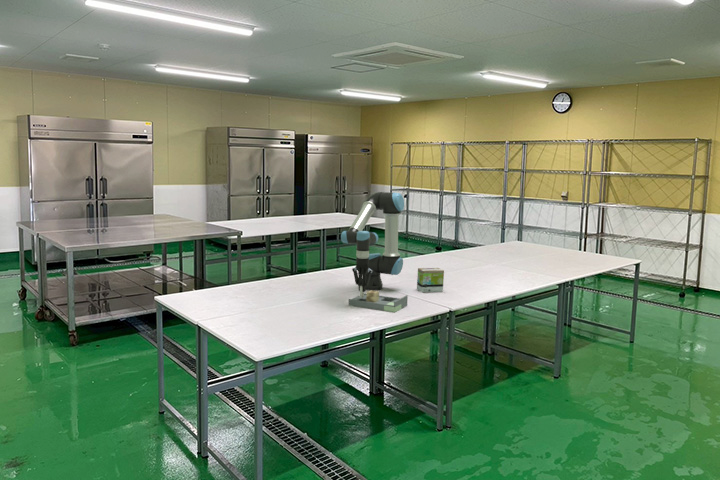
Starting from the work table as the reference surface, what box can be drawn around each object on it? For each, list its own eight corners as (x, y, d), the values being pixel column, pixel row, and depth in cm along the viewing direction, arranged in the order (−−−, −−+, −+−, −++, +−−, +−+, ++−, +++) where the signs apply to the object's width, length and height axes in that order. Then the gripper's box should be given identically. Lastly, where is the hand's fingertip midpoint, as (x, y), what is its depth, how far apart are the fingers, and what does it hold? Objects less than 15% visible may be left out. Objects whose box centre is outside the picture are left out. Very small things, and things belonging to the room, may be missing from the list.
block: (366, 301, 328) (366, 292, 327) (370, 299, 333) (370, 290, 332) (374, 302, 325) (374, 293, 324) (378, 300, 330) (379, 291, 329)
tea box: (422, 292, 365) (422, 270, 363) (416, 289, 374) (417, 267, 372) (443, 291, 369) (444, 269, 367) (437, 288, 378) (438, 267, 376)
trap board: (348, 305, 330) (348, 295, 329) (362, 298, 345) (362, 289, 345) (395, 312, 316) (395, 302, 315) (407, 305, 332) (407, 295, 331)
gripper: (349, 257, 327) (349, 296, 330) (369, 259, 321) (368, 299, 324) (355, 255, 333) (355, 294, 337) (375, 257, 327) (374, 296, 331)
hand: (361, 296), depth 330 cm, fingers closed
